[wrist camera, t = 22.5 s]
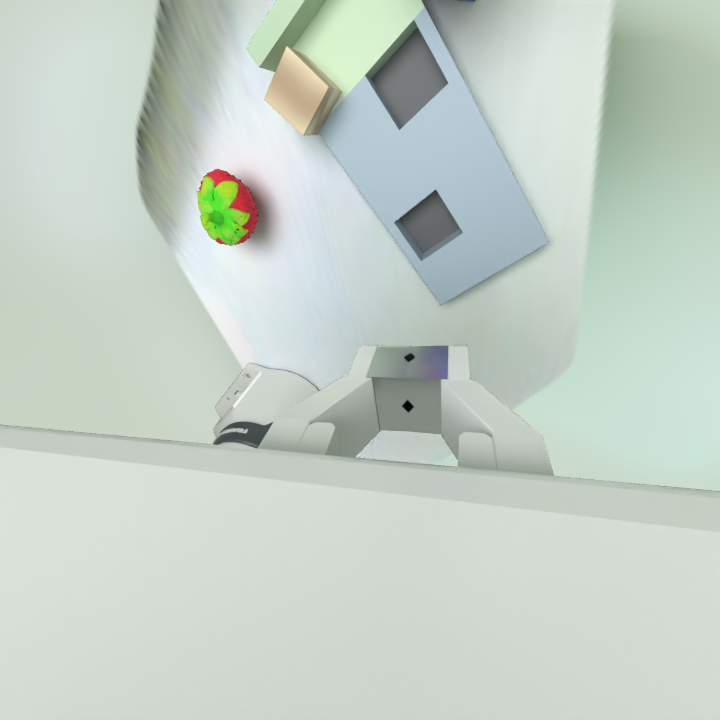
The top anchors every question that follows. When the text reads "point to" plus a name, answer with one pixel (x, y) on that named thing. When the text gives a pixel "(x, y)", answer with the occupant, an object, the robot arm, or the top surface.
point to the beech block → (302, 93)
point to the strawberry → (226, 208)
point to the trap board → (409, 136)
